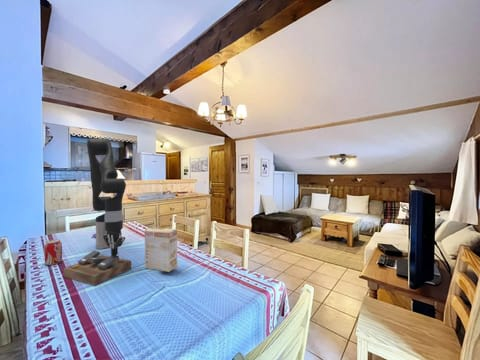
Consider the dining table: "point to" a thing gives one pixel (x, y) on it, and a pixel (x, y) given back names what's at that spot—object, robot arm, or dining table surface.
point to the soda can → (53, 252)
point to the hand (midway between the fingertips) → (114, 255)
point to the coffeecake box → (161, 249)
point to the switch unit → (96, 271)
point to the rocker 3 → (108, 262)
